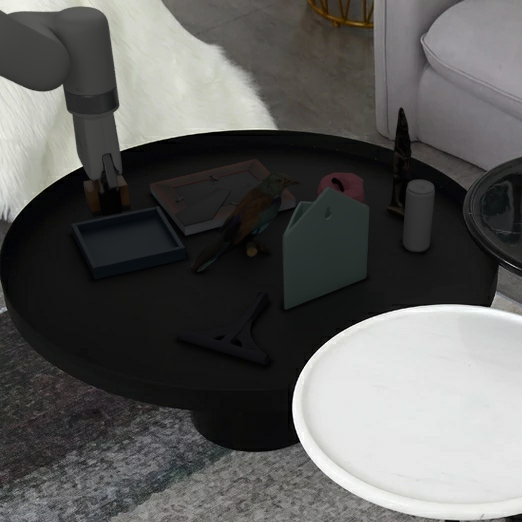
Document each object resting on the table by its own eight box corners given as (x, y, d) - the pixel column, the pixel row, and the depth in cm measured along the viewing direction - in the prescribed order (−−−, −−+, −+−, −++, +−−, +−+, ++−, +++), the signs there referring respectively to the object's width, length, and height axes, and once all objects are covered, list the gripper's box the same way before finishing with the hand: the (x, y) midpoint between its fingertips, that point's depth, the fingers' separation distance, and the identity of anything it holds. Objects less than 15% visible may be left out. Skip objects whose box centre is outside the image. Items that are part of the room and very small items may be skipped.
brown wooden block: (92, 217, 155) (88, 192, 152) (87, 206, 157) (83, 181, 154) (131, 210, 157) (127, 184, 154) (125, 199, 159) (121, 174, 156)
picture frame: (185, 237, 175) (295, 209, 183) (184, 225, 173) (295, 197, 182) (151, 194, 185) (256, 169, 194) (149, 182, 183) (256, 157, 192)
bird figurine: (209, 285, 163) (257, 173, 157) (177, 259, 168) (223, 149, 163) (268, 296, 173) (315, 191, 167) (236, 271, 179) (281, 168, 173)
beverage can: (420, 256, 173) (426, 196, 166) (397, 247, 175) (401, 187, 167) (434, 244, 177) (440, 184, 169) (411, 235, 178) (415, 176, 171)
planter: (340, 255, 172) (342, 152, 160) (367, 278, 168) (372, 173, 155) (259, 286, 165) (255, 180, 152) (285, 310, 160) (283, 203, 147)
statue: (412, 226, 181) (420, 124, 168) (382, 212, 184) (388, 111, 171) (426, 218, 183) (435, 117, 170) (396, 203, 187) (403, 103, 174)
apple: (363, 238, 177) (365, 189, 170) (314, 235, 177) (315, 186, 170) (365, 210, 184) (368, 162, 178) (319, 207, 184) (319, 159, 178)
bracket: (305, 313, 160) (305, 299, 158) (264, 367, 149) (263, 352, 147) (225, 291, 163) (224, 277, 161) (179, 342, 153) (177, 328, 151)
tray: (94, 279, 164) (92, 268, 162) (73, 235, 173) (70, 223, 172) (186, 259, 170) (185, 247, 168) (160, 217, 179) (158, 205, 178)
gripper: (53, 78, 149) (72, 186, 161) (79, 126, 138) (97, 238, 150) (103, 70, 152) (118, 178, 164) (132, 117, 140) (146, 228, 152)
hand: (108, 205), depth 157 cm, fingers closed on brown wooden block, 3 cm apart
